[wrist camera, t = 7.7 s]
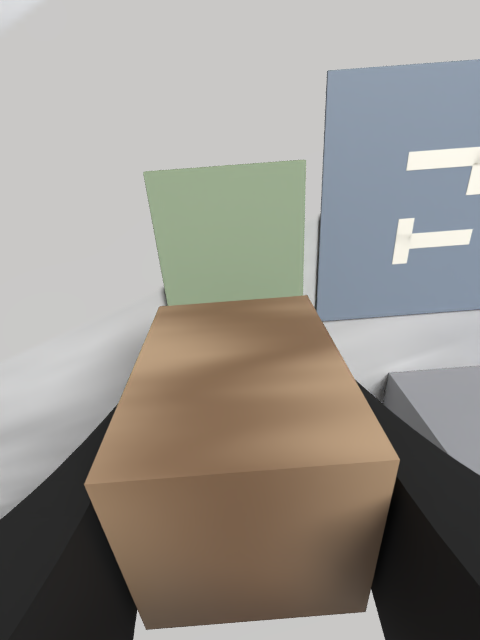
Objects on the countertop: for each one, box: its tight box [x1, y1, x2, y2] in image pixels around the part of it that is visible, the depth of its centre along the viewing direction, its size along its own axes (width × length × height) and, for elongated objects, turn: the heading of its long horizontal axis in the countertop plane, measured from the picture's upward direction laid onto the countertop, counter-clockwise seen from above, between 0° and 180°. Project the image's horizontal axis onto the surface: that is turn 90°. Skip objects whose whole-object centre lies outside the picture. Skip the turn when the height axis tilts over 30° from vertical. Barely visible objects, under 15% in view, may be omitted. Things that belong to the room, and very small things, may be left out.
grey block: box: [383, 366, 480, 475], centre depth 15 cm, size 4×4×6 cm
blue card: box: [316, 59, 480, 321], centre depth 13 cm, size 9×9×1 cm
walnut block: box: [84, 295, 400, 630], centre depth 8 cm, size 4×4×6 cm
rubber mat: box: [143, 160, 306, 306], centre depth 14 cm, size 6×12×1 cm, turn 4°
